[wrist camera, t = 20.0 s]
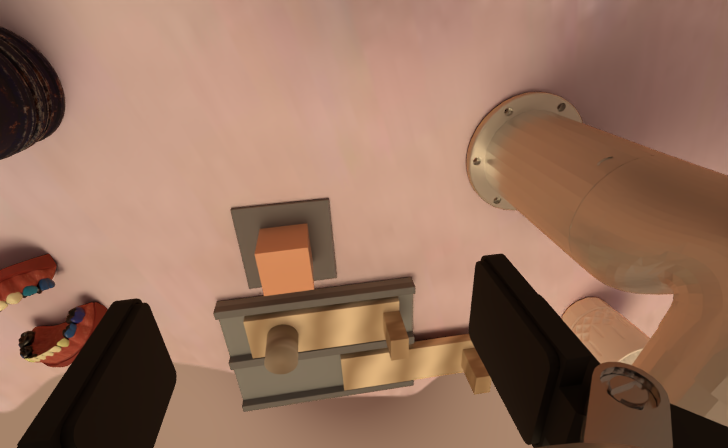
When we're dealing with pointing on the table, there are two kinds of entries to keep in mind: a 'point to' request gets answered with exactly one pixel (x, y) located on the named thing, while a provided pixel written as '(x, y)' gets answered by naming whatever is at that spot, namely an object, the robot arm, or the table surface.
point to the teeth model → (47, 341)
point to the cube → (284, 259)
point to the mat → (285, 215)
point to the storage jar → (26, 95)
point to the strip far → (417, 364)
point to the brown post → (281, 349)
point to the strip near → (335, 326)
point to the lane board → (315, 367)
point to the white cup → (605, 331)
